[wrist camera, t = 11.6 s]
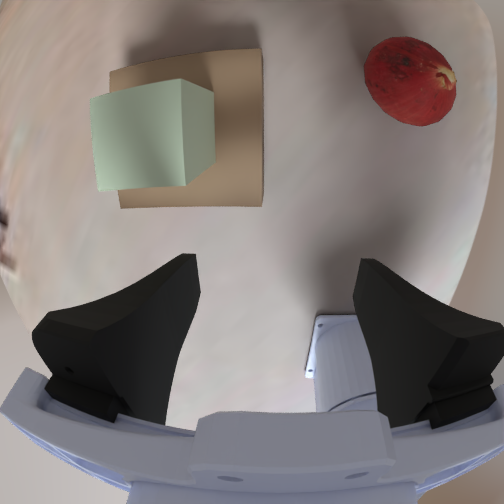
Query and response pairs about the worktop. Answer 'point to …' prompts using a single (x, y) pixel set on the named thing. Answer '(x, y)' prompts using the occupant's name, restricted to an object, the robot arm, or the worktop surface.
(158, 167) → the sage block
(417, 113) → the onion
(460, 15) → the worktop surface
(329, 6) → the worktop surface
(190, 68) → the walnut base
